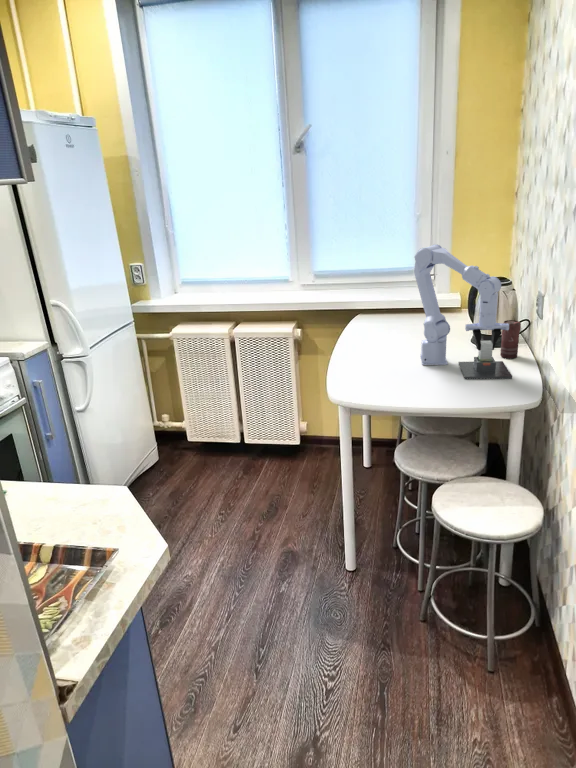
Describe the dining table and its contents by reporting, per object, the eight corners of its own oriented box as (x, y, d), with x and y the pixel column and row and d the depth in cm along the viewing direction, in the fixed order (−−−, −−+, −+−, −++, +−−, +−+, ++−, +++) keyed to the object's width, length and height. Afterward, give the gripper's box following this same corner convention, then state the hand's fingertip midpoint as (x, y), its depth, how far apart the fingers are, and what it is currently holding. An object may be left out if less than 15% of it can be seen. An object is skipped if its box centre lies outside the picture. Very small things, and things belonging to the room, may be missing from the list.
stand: (464, 379, 198) (465, 367, 197) (458, 364, 213) (458, 353, 212) (511, 379, 196) (513, 366, 194) (502, 363, 211) (503, 352, 209)
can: (519, 359, 214) (522, 323, 209) (501, 359, 215) (504, 323, 210) (516, 354, 219) (519, 319, 214) (499, 354, 221) (501, 319, 216)
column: (479, 364, 202) (480, 344, 199) (477, 360, 206) (478, 340, 203) (491, 364, 201) (493, 343, 198) (489, 360, 205) (491, 340, 202)
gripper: (468, 315, 194) (466, 353, 199) (512, 314, 192) (509, 352, 197) (465, 310, 201) (463, 347, 206) (507, 309, 198) (504, 346, 203)
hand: (485, 349), depth 202 cm, fingers closed on column, 4 cm apart
